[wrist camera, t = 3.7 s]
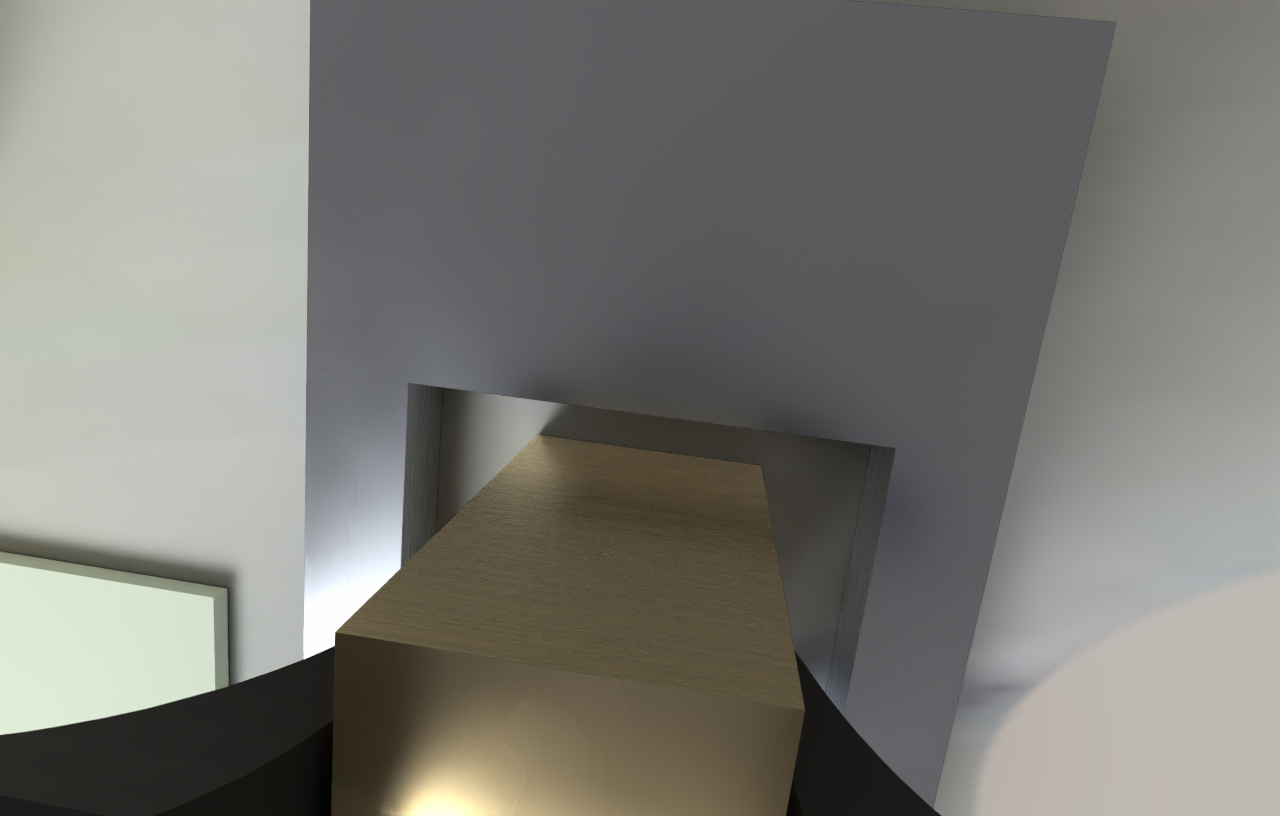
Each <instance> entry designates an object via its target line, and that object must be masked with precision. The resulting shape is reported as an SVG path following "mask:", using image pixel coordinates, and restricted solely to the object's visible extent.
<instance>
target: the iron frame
mask: <svg viewBox="0 0 1280 816" xmlns="http://www.w3.org/2000/svg"><path fill="white" fill-rule="evenodd" d="M1116 23H1117V22H1107V21H1095V20H1082V19H1070V18H1058V17H1046V16H1034V15H1022V14H1010V13H997V12H985V11H973V10H961V9H949V8H937V7H924V6H912V5H900V4H888V3H876V2H864V1H851V0H310V91H309V189H308V287H307V385H306V483H305V581H304V659H306V658H308V657H311V656H313V655H315V654H317V653H320V652H322V651H324V650H326V649H329V648H331V647H333V646H335V632H336V631H337V630H338V629H339V628H340V627H341V626H342V625H343V624H344V623H345V622H346V621H347V620H348V619H349V618H350V617H351V616H352V615H353V614H354V613H355V612H356V611H357V610H358V609H359V608H360V607H361V606H362V605H363V604H364V603H365V602H366V601H367V600H369V599H370V598H371V597H372V596H373V595H374V594H375V593H376V592H377V591H378V590H379V589H380V588H381V587H382V586H383V585H384V584H385V583H386V582H387V581H388V580H389V579H390V578H391V577H392V576H393V575H394V574H395V573H396V572H397V571H398V570H399V569H400V568H401V567H402V566H404V565H405V564H406V563H407V562H408V561H409V560H410V559H411V558H412V557H413V556H414V555H415V554H416V553H417V552H418V551H419V550H420V549H421V548H422V547H423V546H424V545H425V544H426V543H427V542H428V541H429V540H430V539H431V538H432V537H433V536H434V535H435V527H436V508H437V489H438V470H439V451H440V432H441V413H442V394H443V387H444V388H451V389H459V390H466V391H473V392H481V393H488V394H496V395H503V396H511V397H518V398H526V399H533V400H541V401H548V402H556V403H563V404H570V405H578V406H585V407H593V408H600V409H608V410H615V411H623V412H630V413H638V414H645V415H653V416H660V417H668V418H675V419H682V420H690V421H697V422H705V423H712V424H720V425H727V426H735V427H742V428H750V429H757V430H765V431H772V432H780V433H787V434H794V435H802V436H809V437H817V438H824V439H832V440H839V441H847V442H854V443H862V444H869V445H872V447H871V452H870V457H869V463H868V468H867V473H866V479H865V484H864V489H863V495H862V500H861V505H860V511H859V516H858V521H857V527H856V532H855V537H854V542H853V548H852V553H851V558H850V564H849V569H848V574H847V580H846V585H845V590H844V596H843V601H842V606H841V612H840V617H839V622H838V628H837V633H836V638H835V644H834V649H833V654H832V660H831V665H830V670H829V676H828V681H827V686H826V692H825V693H826V695H827V696H828V697H829V699H830V700H831V701H832V702H833V704H834V705H835V706H836V707H837V709H838V710H839V711H840V712H841V714H842V715H843V716H844V717H845V719H846V720H847V721H848V722H849V723H850V724H851V726H852V727H853V728H854V729H855V730H856V732H857V733H858V734H859V735H860V736H861V737H862V738H863V739H864V740H865V742H866V743H867V744H868V745H869V746H870V747H871V748H872V749H873V750H874V751H875V753H876V754H877V755H878V756H879V757H880V758H881V759H882V760H883V761H884V762H885V763H886V764H887V765H888V766H889V767H890V768H891V769H892V770H893V771H894V772H895V773H896V775H897V776H898V777H899V778H900V779H902V780H903V781H904V782H905V783H906V784H907V785H908V786H909V787H910V788H911V789H912V790H913V791H914V792H916V793H917V794H918V795H919V796H920V797H921V798H922V799H923V800H924V801H925V802H926V803H927V804H928V805H930V806H931V807H932V808H933V806H934V801H935V797H936V793H937V788H938V784H939V780H940V776H941V771H942V767H943V763H944V759H945V754H946V750H947V746H948V741H949V737H950V733H951V729H952V724H953V720H954V716H955V711H956V707H957V703H958V699H959V694H960V690H961V686H962V682H963V677H964V673H965V669H966V664H967V660H968V656H969V652H970V647H971V643H972V639H973V634H974V630H975V626H976V622H977V617H978V613H979V609H980V604H981V600H982V596H983V592H984V587H985V583H986V579H987V575H988V570H989V566H990V562H991V557H992V553H993V549H994V545H995V540H996V536H997V532H998V527H999V523H1000V519H1001V515H1002V510H1003V506H1004V502H1005V498H1006V493H1007V489H1008V485H1009V480H1010V476H1011V472H1012V468H1013V463H1014V459H1015V455H1016V450H1017V446H1018V442H1019V438H1020V433H1021V429H1022V425H1023V420H1024V416H1025V412H1026V408H1027V403H1028V399H1029V395H1030V391H1031V386H1032V382H1033V378H1034V373H1035V369H1036V365H1037V361H1038V356H1039V352H1040V348H1041V343H1042V339H1043V335H1044V331H1045V326H1046V322H1047V318H1048V314H1049V309H1050V305H1051V301H1052V296H1053V292H1054V288H1055V284H1056V279H1057V275H1058V271H1059V266H1060V262H1061V258H1062V254H1063V249H1064V245H1065V241H1066V236H1067V232H1068V228H1069V224H1070V219H1071V215H1072V211H1073V207H1074V202H1075V198H1076V194H1077V189H1078V185H1079V181H1080V177H1081V172H1082V168H1083V164H1084V159H1085V155H1086V151H1087V147H1088V142H1089V138H1090V134H1091V130H1092V125H1093V121H1094V117H1095V112H1096V108H1097V104H1098V100H1099V95H1100V91H1101V87H1102V82H1103V78H1104V74H1105V70H1106V65H1107V61H1108V57H1109V52H1110V48H1111V44H1112V40H1113V35H1114V31H1115V27H1116Z"/></svg>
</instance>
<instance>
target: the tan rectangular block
mask: <svg viewBox="0 0 1280 816" xmlns="http://www.w3.org/2000/svg"><path fill="white" fill-rule="evenodd" d="M804 714H805V707H804V702H803V696H802V690H801V685H800V679H799V674H798V668H797V663H796V657H795V652H794V646H793V640H792V635H791V629H790V624H789V618H788V613H787V607H786V602H785V596H784V590H783V585H782V579H781V574H780V568H779V563H778V557H777V551H776V546H775V540H774V535H773V529H772V524H771V518H770V513H769V507H768V501H767V496H766V490H765V485H764V479H763V474H762V468H761V466H760V465H753V464H746V463H739V462H731V461H724V460H717V459H710V458H703V457H695V456H688V455H681V454H674V453H666V452H659V451H652V450H645V449H637V448H630V447H623V446H616V445H608V444H601V443H594V442H587V441H580V440H572V439H565V438H558V437H551V436H543V435H537V436H536V437H535V438H534V439H533V440H532V441H531V442H530V443H529V444H528V445H527V446H526V447H525V448H524V449H523V450H522V451H521V452H520V453H519V454H518V455H517V456H516V457H515V458H514V459H513V460H512V461H511V462H510V463H509V464H508V465H507V466H506V467H504V468H503V469H502V470H501V471H500V472H499V473H498V474H497V475H496V476H495V477H494V478H493V479H492V480H491V481H490V482H489V483H488V484H487V485H486V486H485V487H484V488H483V489H482V490H481V491H480V492H479V493H478V494H477V495H476V496H475V497H474V498H473V499H472V500H470V501H469V502H468V503H467V504H466V505H465V506H464V507H463V508H462V509H461V510H460V511H459V512H458V513H457V514H456V515H455V516H454V517H453V518H452V519H451V520H450V521H449V522H448V523H447V524H446V525H445V526H444V527H443V528H442V529H441V530H440V531H439V532H438V533H436V534H435V535H434V536H433V537H432V538H431V539H430V540H429V541H428V542H427V543H426V544H425V545H424V546H423V547H422V548H421V549H420V550H419V551H418V552H417V553H416V554H415V555H414V556H413V557H412V558H411V559H410V560H409V561H408V562H407V563H406V564H405V565H404V566H402V567H401V568H400V569H399V570H398V571H397V572H396V573H395V574H394V575H393V576H392V577H391V578H390V579H389V580H388V581H387V582H386V583H385V584H384V585H383V586H382V587H381V588H380V589H379V590H378V591H377V592H376V593H375V594H374V595H373V596H372V597H371V598H370V599H369V600H367V601H366V602H365V603H364V604H363V605H362V606H361V607H360V608H359V609H358V610H357V611H356V612H355V613H354V614H353V615H352V616H351V617H350V618H349V619H348V620H347V621H346V622H345V623H344V624H343V625H342V626H341V627H340V628H339V629H338V630H337V631H336V632H335V649H334V698H333V747H332V796H331V816H786V812H787V807H788V801H789V796H790V791H791V785H792V780H793V774H794V769H795V763H796V758H797V752H798V747H799V741H800V736H801V730H802V725H803V719H804Z"/></svg>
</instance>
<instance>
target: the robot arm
mask: <svg viewBox="0 0 1280 816" xmlns="http://www.w3.org/2000/svg"><path fill="white" fill-rule="evenodd" d="M334 649H335V646H333V647H331V648H329V649H326V650H324V651H322V652H320V653H317V654H315V655H313V656H311V657H308V658H306V659H303V660H301V661H298V662H296V663H293V664H291V665H288V666H286V667H283V668H280V669H278V670H275V671H272V672H269V673H266V674H263V675H261V676H258V677H255V678H252V679H249V680H246V681H243V682H240V683H237V684H234V685H231V686H228V687H224V688H221V689H217V690H214V691H210V692H206V693H203V694H199V695H195V696H192V697H188V698H184V699H181V700H177V701H173V702H169V703H166V704H162V705H158V706H155V707H151V708H147V709H142V710H138V711H133V712H129V713H124V714H119V715H115V716H110V717H105V718H101V719H95V720H90V721H84V722H79V723H74V724H68V725H63V726H57V727H51V728H45V729H39V730H33V731H27V732H19V733H11V734H3V735H0V816H331V796H332V747H333V698H334ZM794 652H795V650H794ZM795 657H796V663H797V668H798V674H799V679H800V685H801V690H802V696H803V702H804V707H805V714H804V719H803V725H802V730H801V736H800V741H799V747H798V752H797V758H796V763H795V769H794V774H793V780H792V785H791V791H790V796H789V801H788V807H787V812H786V816H941V815H940V814H938V813H937V812H936V811H935V810H934V809H933V808H932V807H931V806H930V805H928V804H927V803H926V802H925V801H924V800H923V799H922V798H921V797H920V796H919V795H918V794H917V793H916V792H914V791H913V790H912V789H911V788H910V787H909V786H908V785H907V784H906V783H905V782H904V781H903V780H902V779H900V778H899V777H898V776H897V775H896V773H895V772H894V771H893V770H892V769H891V768H890V767H889V766H888V765H887V764H886V763H885V762H884V761H883V760H882V759H881V758H880V757H879V756H878V755H877V754H876V753H875V751H874V750H873V749H872V748H871V747H870V746H869V745H868V744H867V743H866V742H865V740H864V739H863V738H862V737H861V736H860V735H859V734H858V733H857V732H856V730H855V729H854V728H853V727H852V726H851V724H850V723H849V722H848V721H847V720H846V719H845V717H844V716H843V715H842V714H841V712H840V711H839V710H838V709H837V707H836V706H835V705H834V704H833V702H832V701H831V700H830V699H829V697H828V696H827V695H826V693H825V692H824V691H823V689H822V688H821V687H820V685H819V684H818V682H817V681H816V680H815V678H814V677H813V676H812V674H811V673H810V671H809V670H808V669H807V667H806V666H805V664H804V663H803V662H802V660H801V659H800V657H799V656H798V655H797V653H796V652H795Z"/></svg>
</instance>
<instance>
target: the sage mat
mask: <svg viewBox="0 0 1280 816" xmlns="http://www.w3.org/2000/svg"><path fill="white" fill-rule="evenodd" d="M228 686H229V675H228V609H227V588H221V587H215V586H209V585H203V584H197V583H190V582H184V581H178V580H172V579H166V578H160V577H154V576H148V575H141V574H135V573H129V572H123V571H117V570H111V569H105V568H98V567H92V566H86V565H80V564H74V563H68V562H62V561H56V560H49V559H43V558H37V557H31V556H25V555H19V554H13V553H6V552H0V735H3V734H11V733H19V732H27V731H33V730H39V729H45V728H51V727H57V726H63V725H68V724H74V723H79V722H84V721H90V720H95V719H101V718H105V717H110V716H115V715H119V714H124V713H129V712H133V711H138V710H142V709H147V708H151V707H155V706H158V705H162V704H166V703H169V702H173V701H177V700H181V699H184V698H188V697H192V696H195V695H199V694H203V693H206V692H210V691H214V690H217V689H221V688H224V687H228Z"/></svg>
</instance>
